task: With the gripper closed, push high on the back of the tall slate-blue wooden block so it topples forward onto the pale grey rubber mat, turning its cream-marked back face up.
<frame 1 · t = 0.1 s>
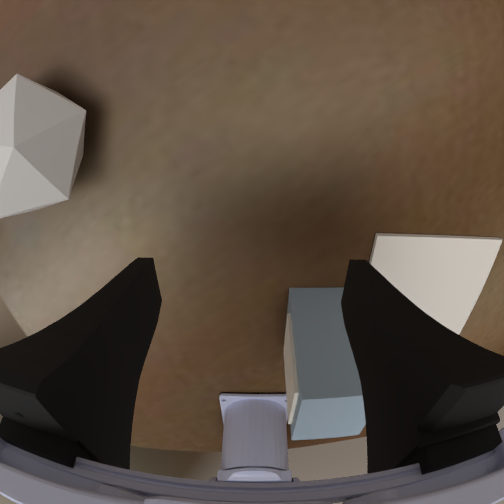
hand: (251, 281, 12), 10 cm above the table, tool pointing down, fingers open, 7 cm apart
block: (316, 315, 26), on the table
mat: (419, 310, 26), on the table
die: (56, 131, 18), on the table
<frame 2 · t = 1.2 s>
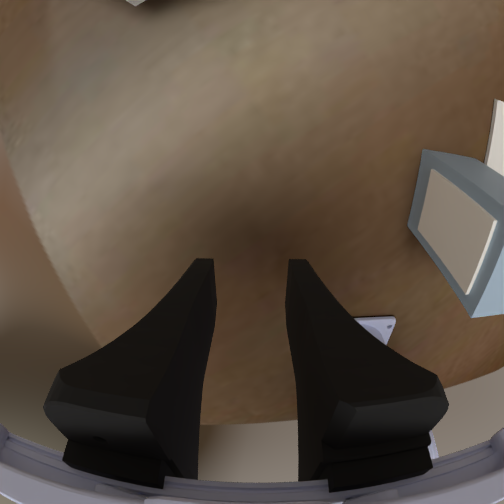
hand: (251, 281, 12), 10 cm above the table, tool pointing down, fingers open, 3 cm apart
block: (442, 191, 20), on the table
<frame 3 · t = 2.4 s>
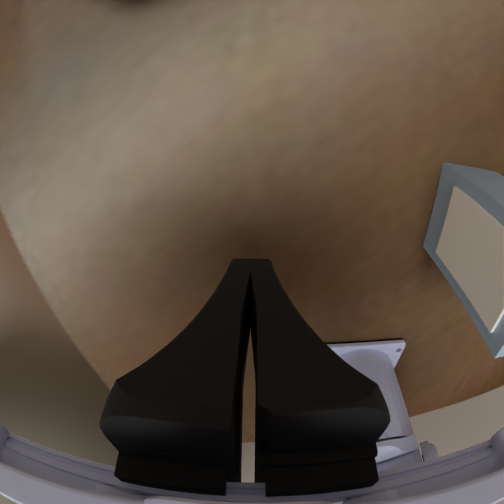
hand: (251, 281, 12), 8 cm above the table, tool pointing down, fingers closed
block: (462, 208, 18), on the table
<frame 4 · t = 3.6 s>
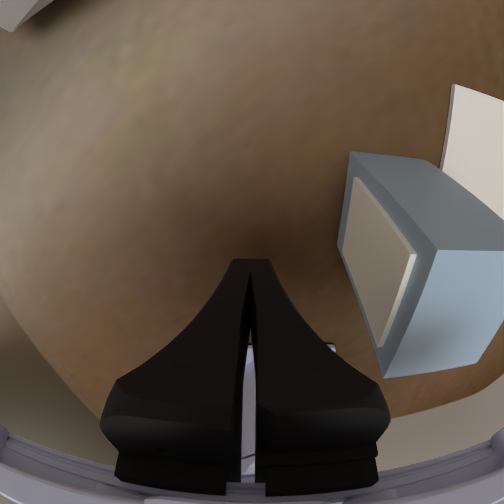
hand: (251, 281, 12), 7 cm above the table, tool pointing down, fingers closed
block: (382, 203, 18), on the table
mat: (497, 213, 18), on the table
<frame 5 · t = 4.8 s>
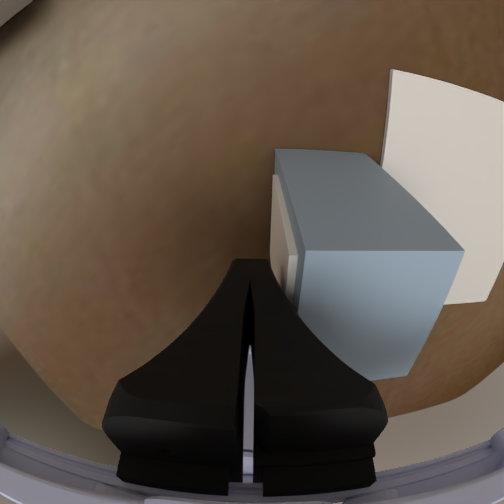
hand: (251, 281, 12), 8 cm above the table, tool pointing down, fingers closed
block: (317, 200, 18), on the table, touching gripper
mat: (458, 209, 18), on the table
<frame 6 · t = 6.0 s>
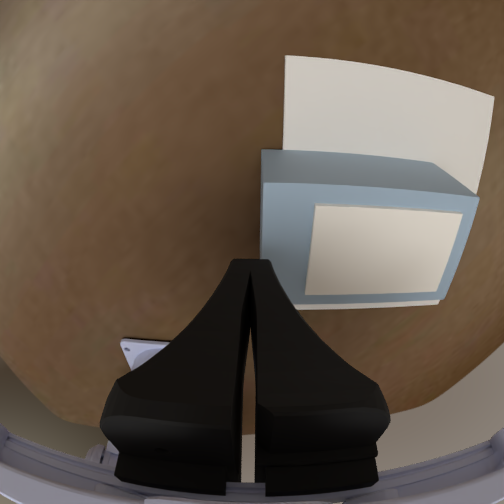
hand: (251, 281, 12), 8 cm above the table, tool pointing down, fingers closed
block: (261, 222, 16), point 3 cm above the table, tilted 90°, touching mat
mat: (387, 203, 18), on the table
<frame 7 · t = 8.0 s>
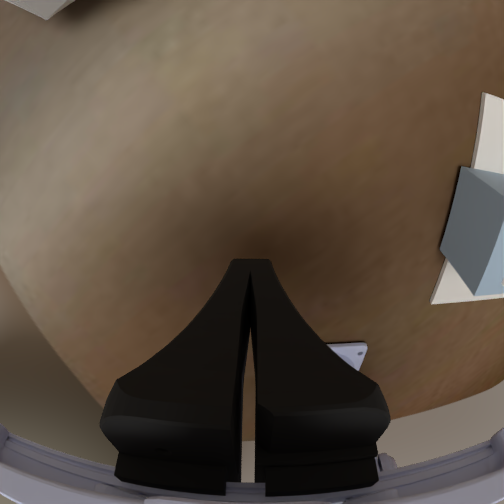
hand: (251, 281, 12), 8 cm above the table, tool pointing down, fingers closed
block: (470, 228, 15), point 3 cm above the table, tilted 90°, touching mat
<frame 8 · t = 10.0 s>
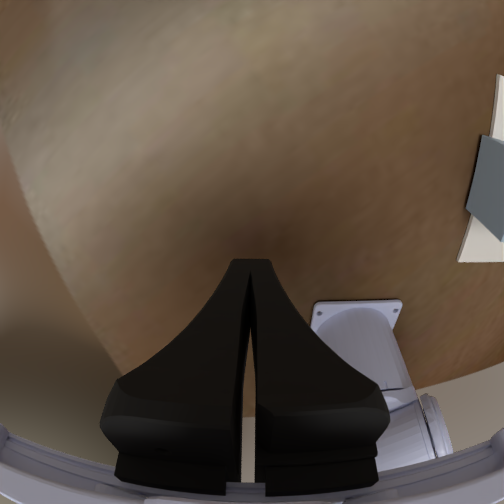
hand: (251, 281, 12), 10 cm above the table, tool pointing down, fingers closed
block: (493, 185, 17), point 3 cm above the table, tilted 90°, touching mat
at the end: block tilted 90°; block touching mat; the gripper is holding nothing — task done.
